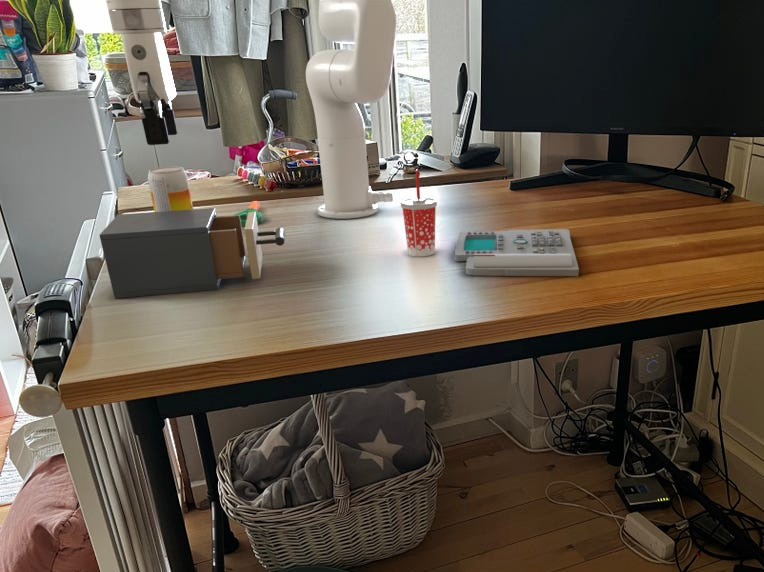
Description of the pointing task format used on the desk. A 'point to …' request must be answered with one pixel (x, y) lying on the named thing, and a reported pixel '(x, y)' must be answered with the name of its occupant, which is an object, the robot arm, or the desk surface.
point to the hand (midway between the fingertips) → (163, 139)
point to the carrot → (252, 208)
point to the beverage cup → (419, 223)
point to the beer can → (169, 189)
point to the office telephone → (517, 253)
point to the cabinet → (160, 253)
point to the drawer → (239, 245)
